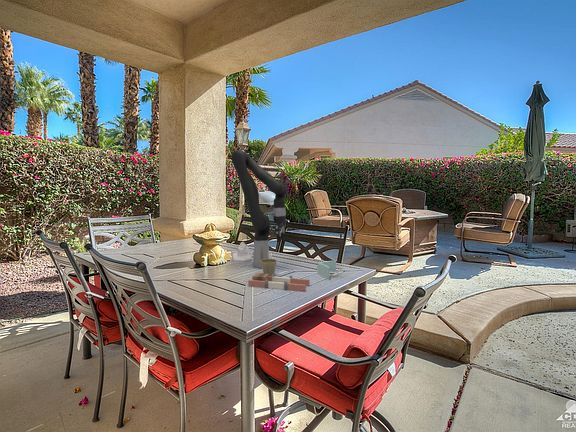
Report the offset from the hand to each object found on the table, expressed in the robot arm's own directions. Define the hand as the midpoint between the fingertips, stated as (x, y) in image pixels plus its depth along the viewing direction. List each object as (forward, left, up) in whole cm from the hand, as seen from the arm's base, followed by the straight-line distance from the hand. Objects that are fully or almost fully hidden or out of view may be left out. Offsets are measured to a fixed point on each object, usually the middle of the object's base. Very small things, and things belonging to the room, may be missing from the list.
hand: (280, 241), depth 190 cm
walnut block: (-1, -32, -17) cm, 37 cm away
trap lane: (+9, -32, -17) cm, 38 cm away
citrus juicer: (-31, +13, -18) cm, 38 cm away
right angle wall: (+33, -7, -18) cm, 38 cm away
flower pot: (-2, -16, -17) cm, 24 cm away
